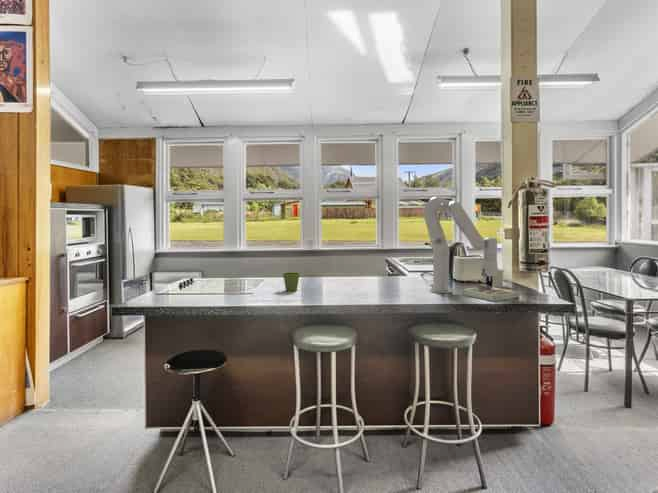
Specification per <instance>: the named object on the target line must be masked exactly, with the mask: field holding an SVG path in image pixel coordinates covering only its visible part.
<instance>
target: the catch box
mask: <svg viewBox="0 0 658 493" xmlns="http://www.w3.org/2000/svg"><path fill="white" fill-rule="evenodd" d="M477 289H478V288H477V287H472V288H470V287H469V288H465V289H463V290H462V291H463V292H462V294H463V296H466V297H470V298H475V299H480V300H484V301H489V302H493V303H496V302H501V301H506V300H507V299H506V294H498V295H490V294H485V293H481V292H477Z"/></svg>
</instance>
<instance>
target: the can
mask: <svg viewBox="0 0 658 493" xmlns="http://www.w3.org/2000/svg"><path fill="white" fill-rule="evenodd" d="M503 287H504V269H503V268H498V272H497V275H496V277H495V278H494V279H493V283H492V288H503Z"/></svg>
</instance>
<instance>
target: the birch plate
mask: <svg viewBox="0 0 658 493" xmlns="http://www.w3.org/2000/svg"><path fill="white" fill-rule="evenodd" d="M477 292H481V293H485V294H491V293H493V294H506V300H509V299H514V298H515V297H516V298H518V291H512V290H508V289H501V288H498V287H492V288H491V290H481V289H479V288H477ZM516 298H515V299H516Z"/></svg>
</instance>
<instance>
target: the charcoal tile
mask: <svg viewBox="0 0 658 493" xmlns="http://www.w3.org/2000/svg"><path fill="white" fill-rule="evenodd" d="M478 289H481V290H491V286H490V285H486V284H479V285H478Z"/></svg>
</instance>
